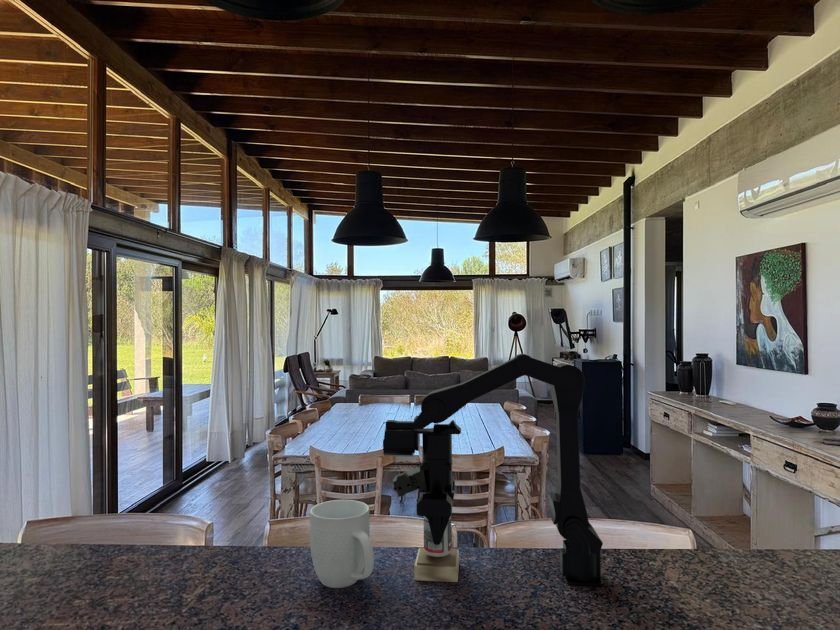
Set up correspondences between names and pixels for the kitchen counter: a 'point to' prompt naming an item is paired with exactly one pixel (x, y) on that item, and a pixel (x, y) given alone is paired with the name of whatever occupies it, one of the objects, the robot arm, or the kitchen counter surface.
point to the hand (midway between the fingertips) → (437, 538)
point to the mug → (341, 542)
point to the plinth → (437, 567)
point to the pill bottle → (444, 545)
